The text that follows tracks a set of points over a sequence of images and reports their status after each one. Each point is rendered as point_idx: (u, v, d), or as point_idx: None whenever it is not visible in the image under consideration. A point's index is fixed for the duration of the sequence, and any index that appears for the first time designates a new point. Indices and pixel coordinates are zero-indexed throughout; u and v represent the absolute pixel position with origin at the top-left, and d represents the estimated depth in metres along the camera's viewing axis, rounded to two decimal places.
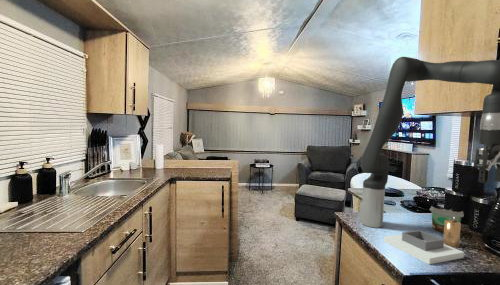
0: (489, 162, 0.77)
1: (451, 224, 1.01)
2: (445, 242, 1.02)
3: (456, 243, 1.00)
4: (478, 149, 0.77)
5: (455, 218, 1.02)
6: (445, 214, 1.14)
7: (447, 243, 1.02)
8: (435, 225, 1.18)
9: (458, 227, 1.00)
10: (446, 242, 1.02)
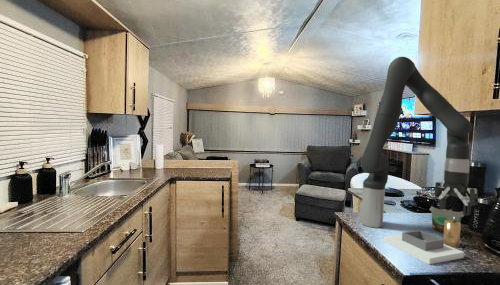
0: (468, 198, 0.98)
1: (451, 224, 1.01)
2: (445, 242, 1.02)
3: (456, 243, 1.00)
4: (474, 190, 0.95)
5: (455, 218, 1.02)
6: (445, 214, 1.14)
7: (447, 243, 1.02)
8: (435, 225, 1.18)
9: (458, 227, 1.00)
10: (446, 242, 1.02)
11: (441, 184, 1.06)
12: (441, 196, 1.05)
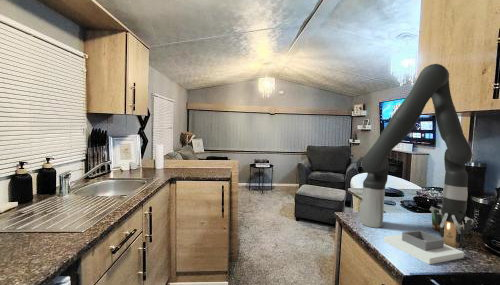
0: (463, 226, 1.00)
1: (451, 224, 1.01)
2: (445, 242, 1.02)
3: (455, 243, 1.00)
4: (471, 221, 0.96)
5: None
6: None
7: (447, 243, 1.02)
8: (435, 225, 1.18)
9: None
10: (446, 242, 1.02)
11: (439, 211, 1.07)
12: (442, 225, 1.05)
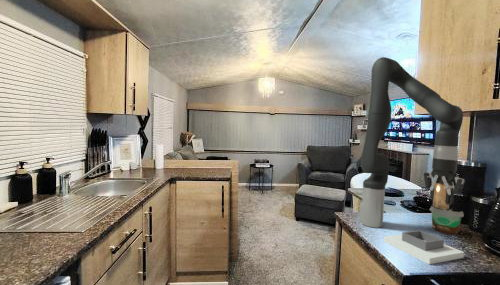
0: (453, 187, 0.97)
1: (441, 185, 0.98)
2: (435, 204, 1.00)
3: (445, 205, 0.97)
4: (461, 181, 0.93)
5: None
6: (445, 214, 1.14)
7: (437, 205, 0.99)
8: (435, 225, 1.18)
9: None
10: (436, 204, 0.99)
11: (429, 174, 1.04)
12: (432, 187, 1.02)
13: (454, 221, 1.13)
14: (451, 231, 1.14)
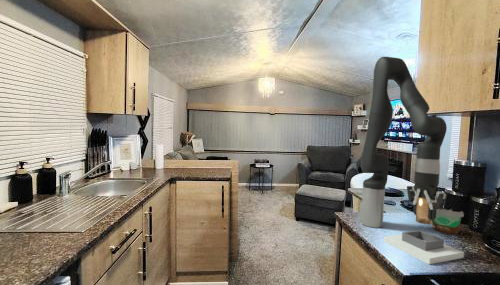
0: (435, 202, 0.94)
1: (423, 200, 0.95)
2: (417, 219, 0.96)
3: (428, 220, 0.94)
4: (443, 195, 0.90)
5: None
6: (445, 214, 1.14)
7: (419, 220, 0.96)
8: (435, 225, 1.18)
9: None
10: (418, 219, 0.96)
11: (412, 187, 1.01)
12: (415, 201, 0.98)
13: (454, 221, 1.13)
14: (451, 231, 1.14)
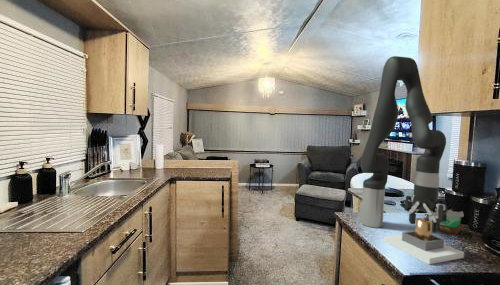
0: (437, 214, 0.93)
1: (422, 223, 0.95)
2: None
3: None
4: (442, 206, 0.90)
5: (427, 216, 0.96)
6: None
7: None
8: None
9: (429, 226, 0.94)
10: None
11: (411, 198, 1.01)
12: (411, 210, 1.00)
13: (454, 221, 1.13)
14: (451, 231, 1.14)
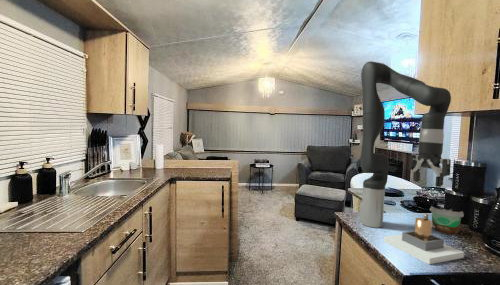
0: (441, 169, 0.95)
1: (422, 222, 0.95)
2: None
3: None
4: (446, 160, 0.92)
5: (426, 216, 0.97)
6: (445, 214, 1.14)
7: None
8: (435, 225, 1.18)
9: (429, 225, 0.94)
10: None
11: (416, 156, 1.03)
12: (415, 168, 1.03)
13: (454, 221, 1.13)
14: (451, 231, 1.14)
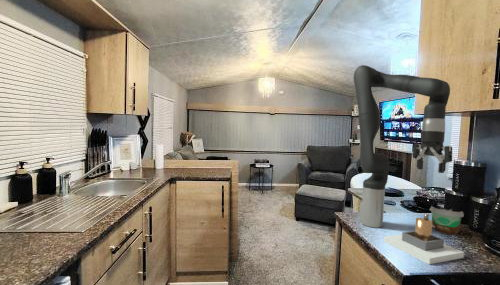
0: (443, 156, 1.01)
1: (422, 222, 0.95)
2: None
3: None
4: (448, 147, 0.98)
5: (426, 216, 0.97)
6: (445, 214, 1.14)
7: None
8: (435, 225, 1.18)
9: (429, 225, 0.94)
10: None
11: (419, 145, 1.09)
12: (419, 157, 1.08)
13: (454, 221, 1.13)
14: (451, 231, 1.14)
